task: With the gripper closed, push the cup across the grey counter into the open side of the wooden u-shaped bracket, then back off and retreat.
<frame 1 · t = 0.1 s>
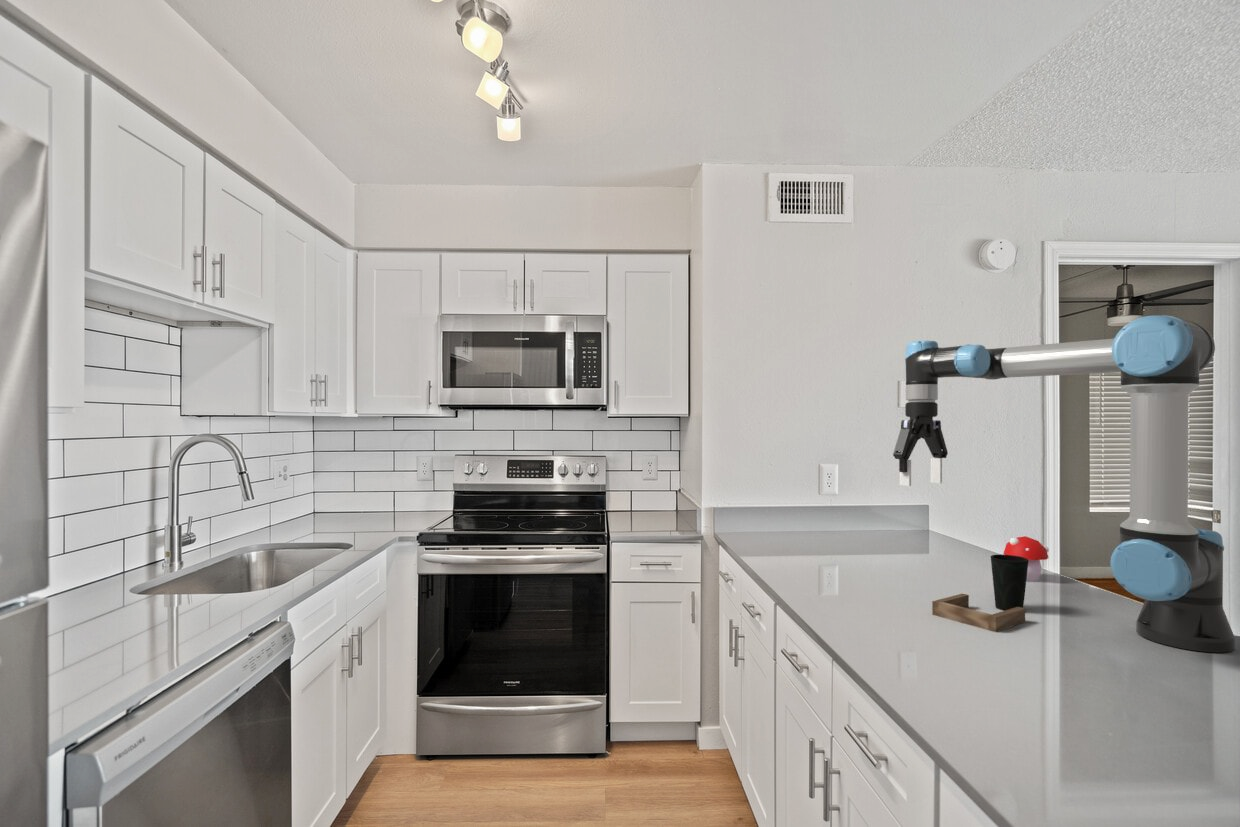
hand: (921, 484, 165), 28 cm above the worktop, fingers open, 13 cm apart
wooden u-shaped bracket: (979, 617, 145), on the worktop
mushroom: (1026, 579, 181), on the worktop
cup: (1009, 609, 152), on the worktop
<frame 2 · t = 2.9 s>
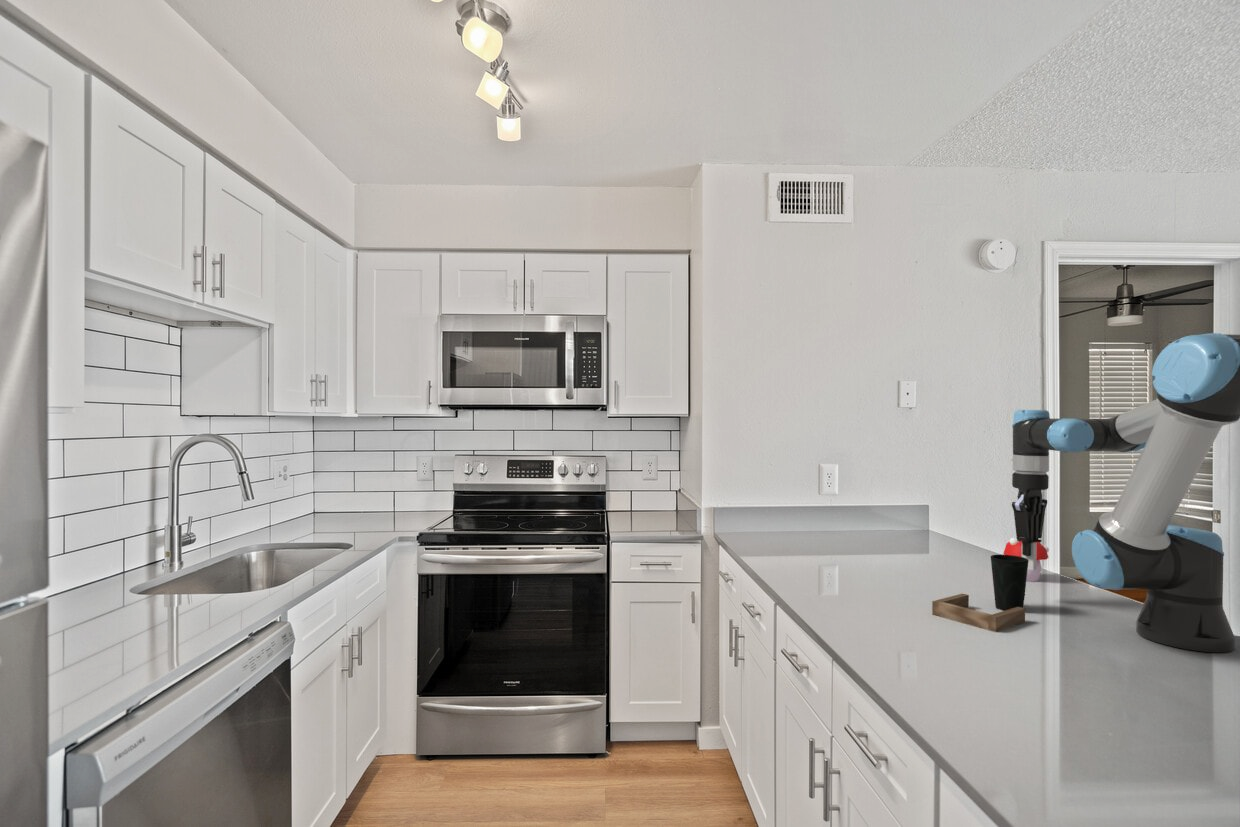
hand: (1028, 568, 158), 8 cm above the worktop, fingers closed
nothing on the worktop moved.
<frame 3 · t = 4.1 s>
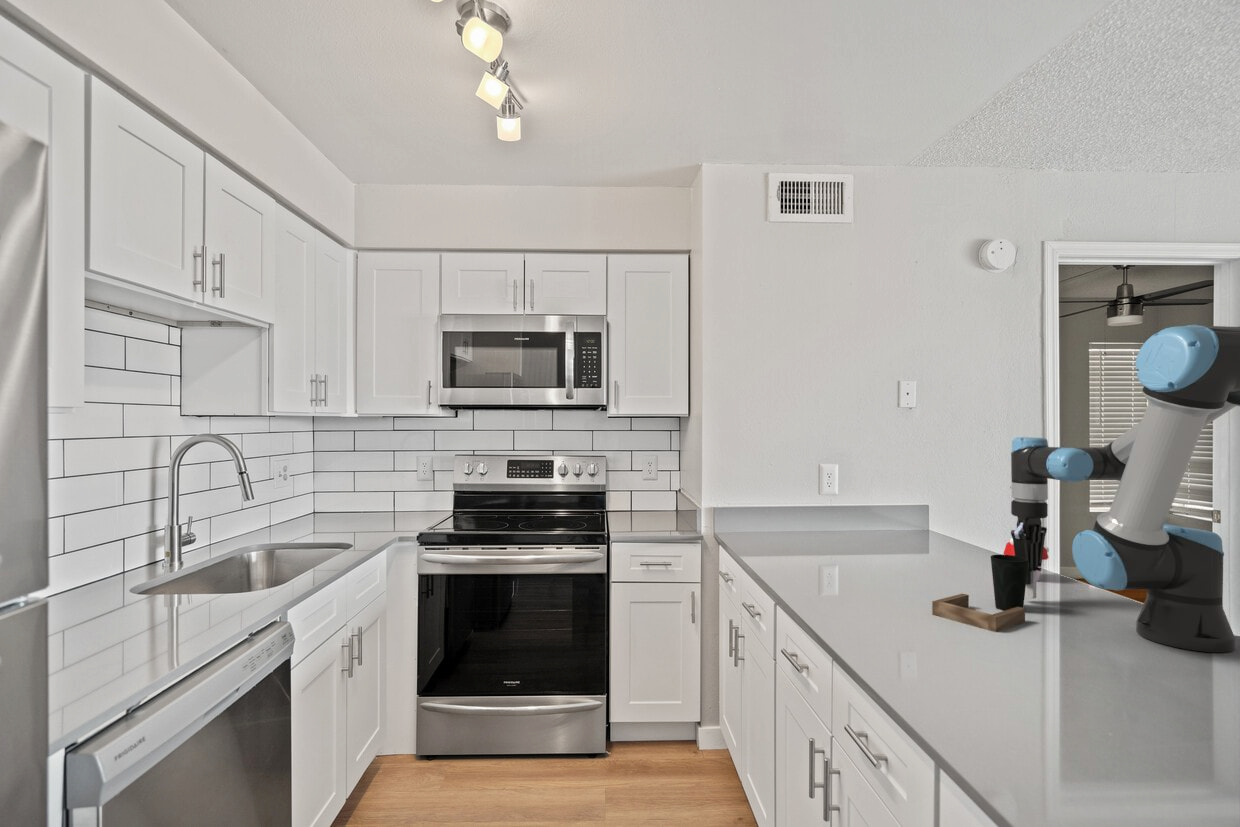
hand: (1028, 596, 157), 1 cm above the worktop, fingers closed
nothing on the worktop moved.
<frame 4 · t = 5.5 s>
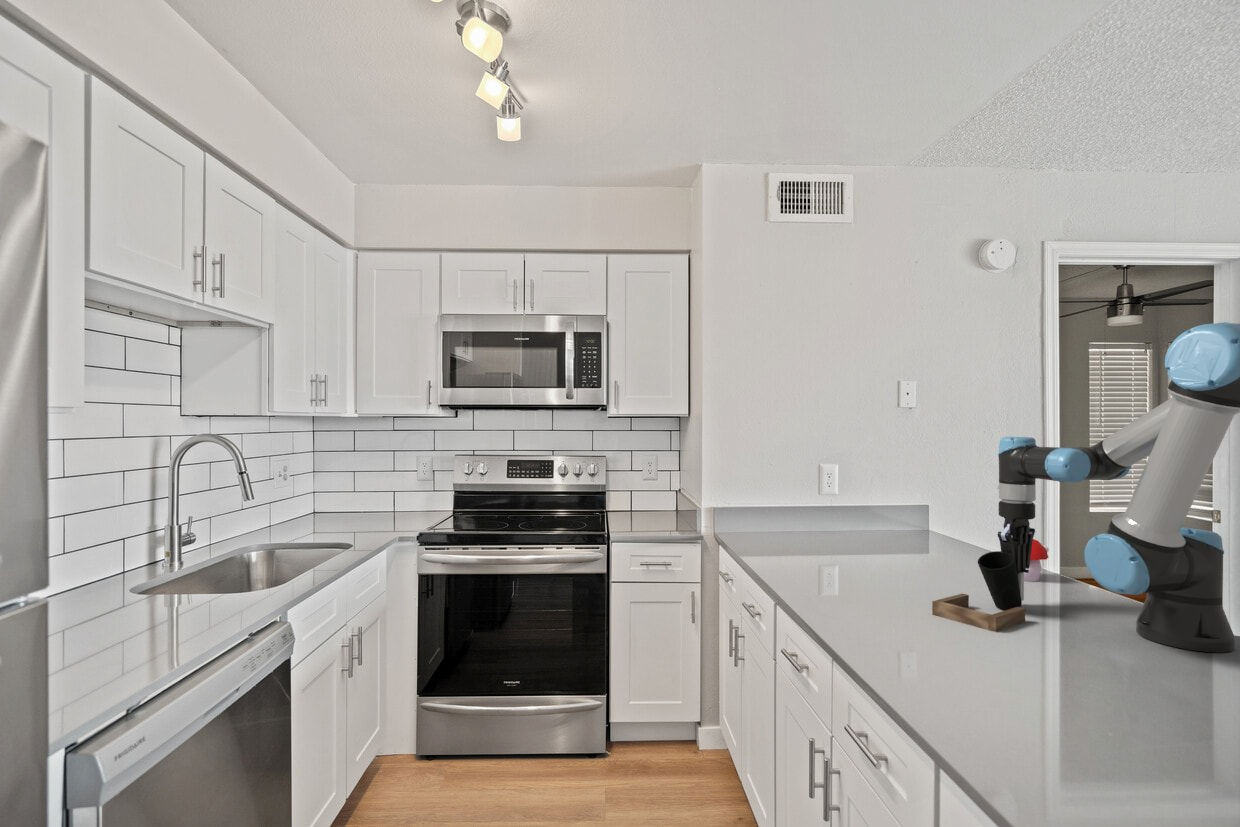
hand: (1016, 599, 154), 2 cm above the worktop, fingers closed
cup: (1008, 604, 152), point 1 cm above the worktop, touching gripper, hand
everything else where it was.
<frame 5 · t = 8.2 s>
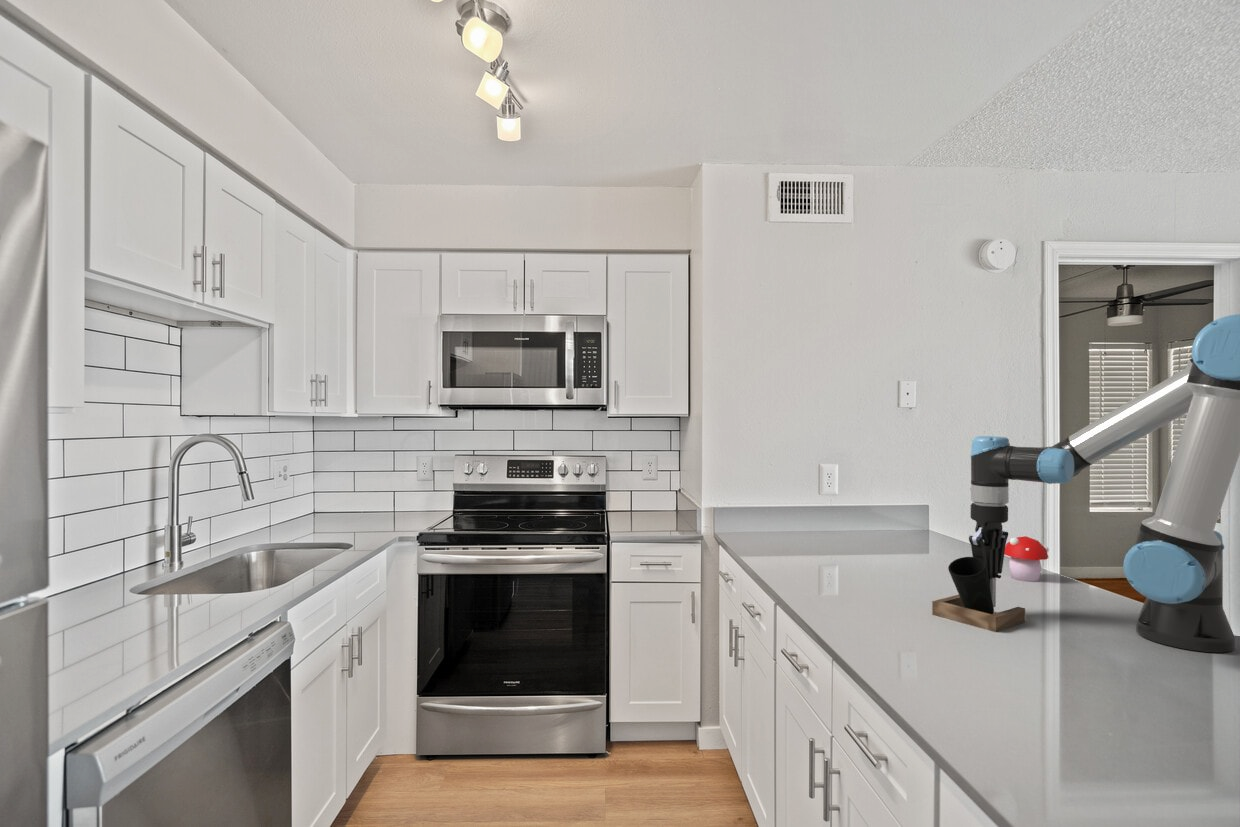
hand: (988, 605, 148), 2 cm above the worktop, fingers closed
cup: (980, 611, 146), point 1 cm above the worktop, touching gripper, hand
everything else where it was.
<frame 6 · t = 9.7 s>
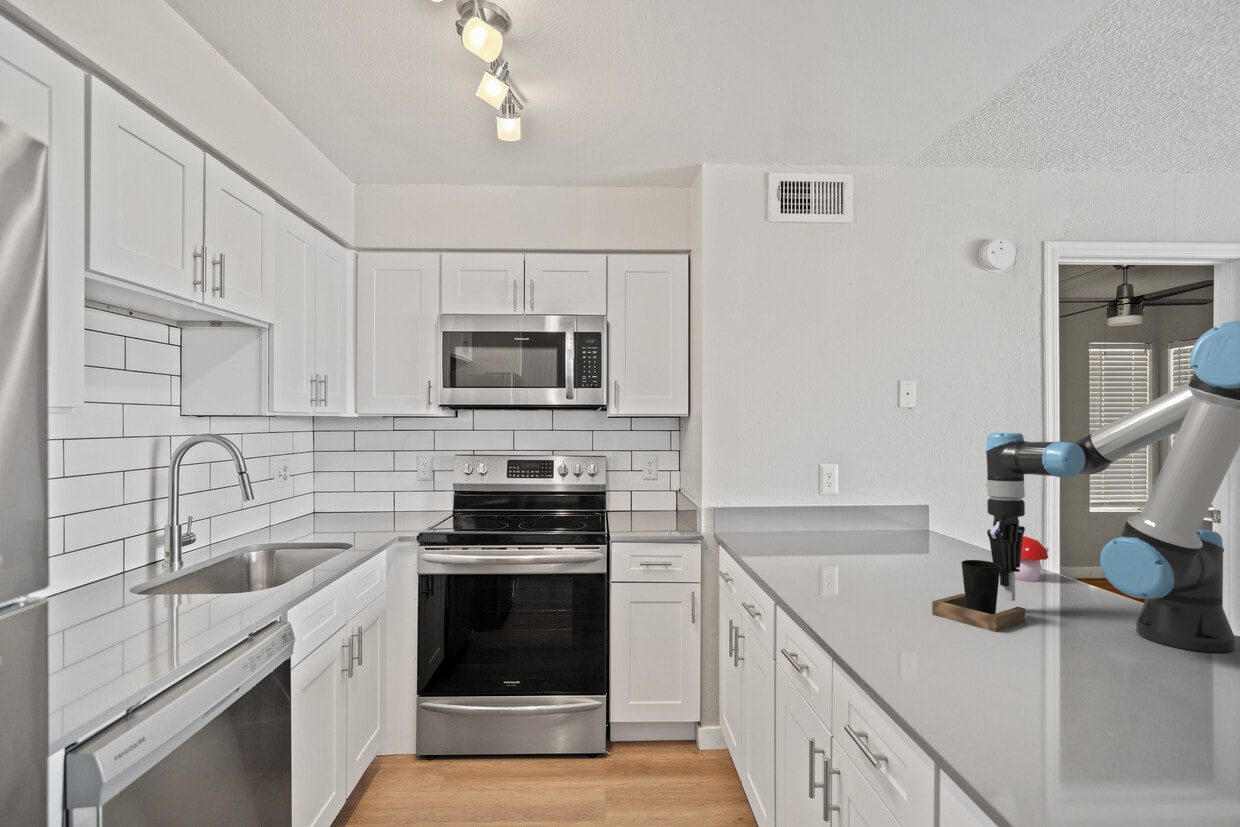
hand: (1007, 599, 150), 3 cm above the worktop, fingers closed
cup: (980, 617, 146), on the worktop
everything else where it was.
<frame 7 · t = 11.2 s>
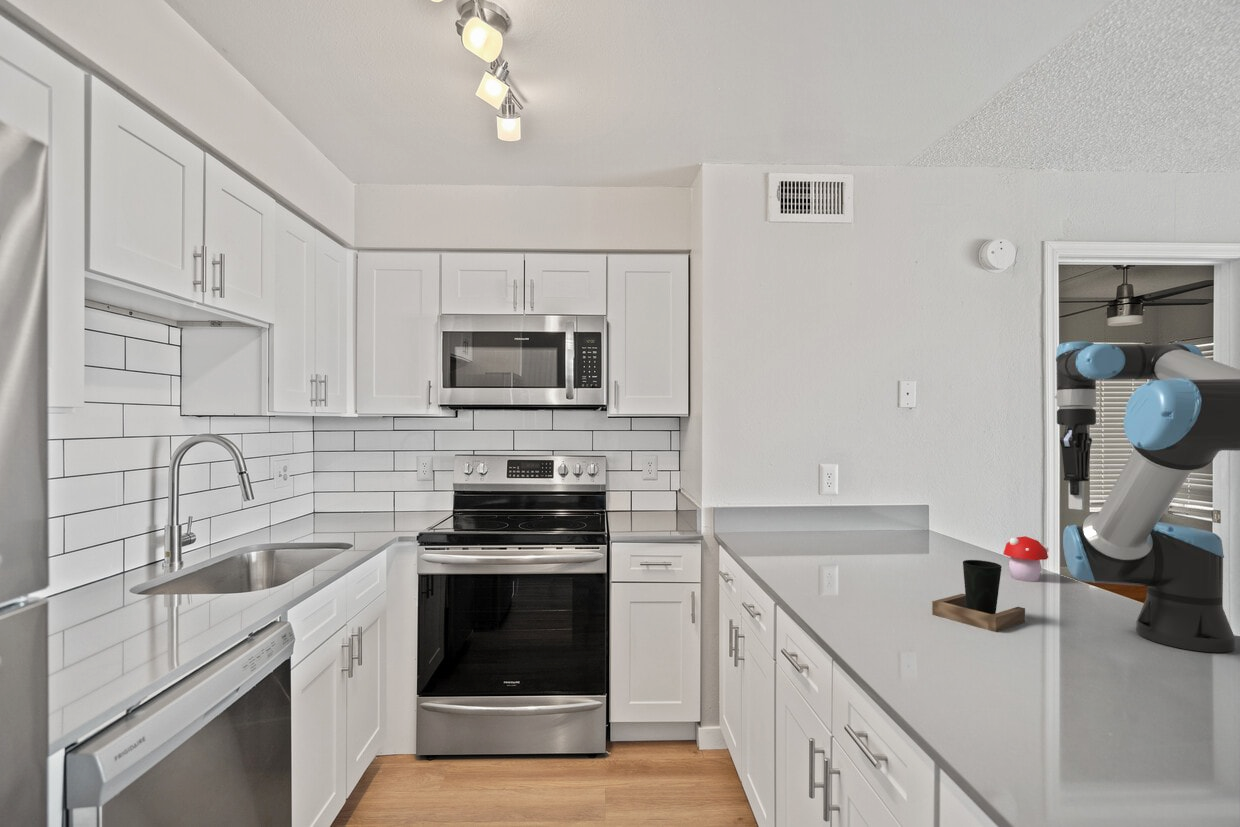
hand: (1076, 508, 150), 24 cm above the worktop, fingers closed
nothing on the worktop moved.
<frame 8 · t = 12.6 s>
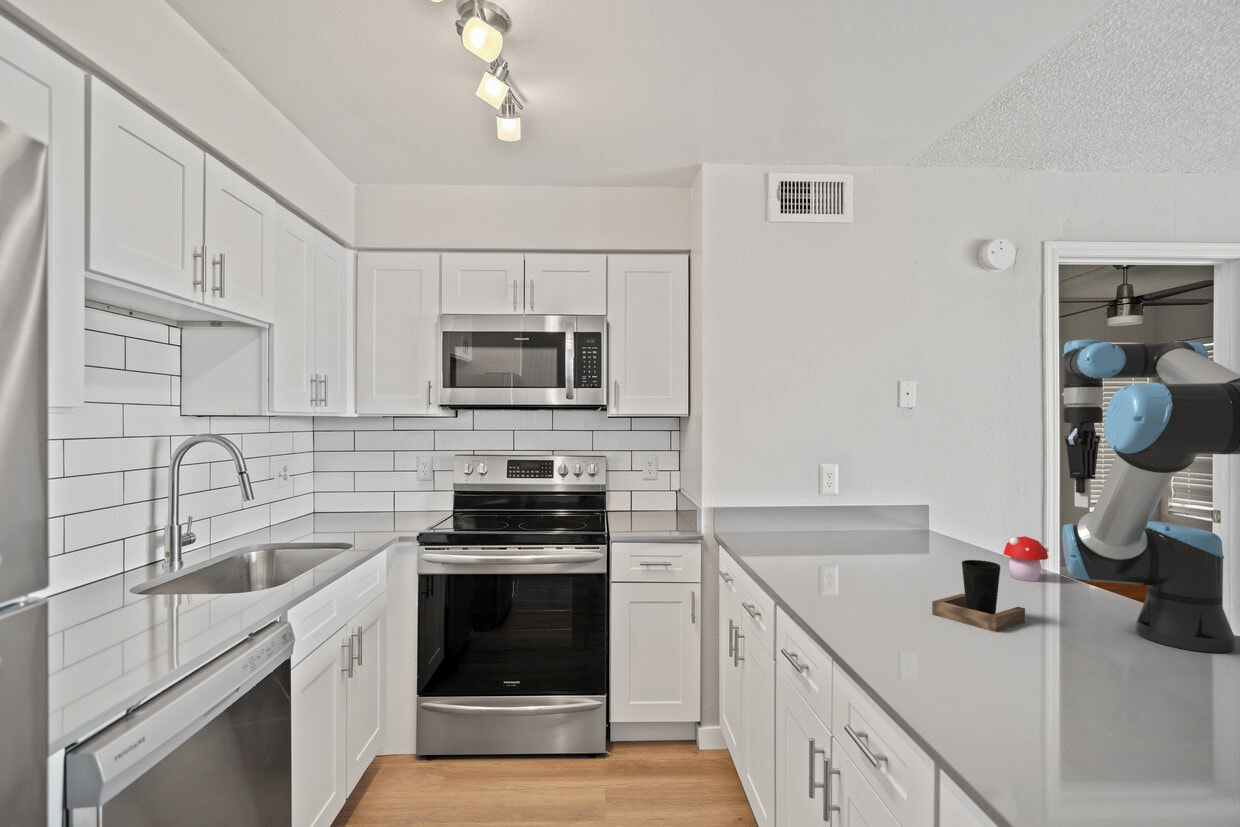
hand: (1082, 506, 151), 24 cm above the worktop, fingers closed
nothing on the worktop moved.
at the end: cup inside the target area on the wooden u-shaped bracket (1.7 cm from its centre), point 0.0 cm above the wooden u-shaped bracket's base; cup tilted 1° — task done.
